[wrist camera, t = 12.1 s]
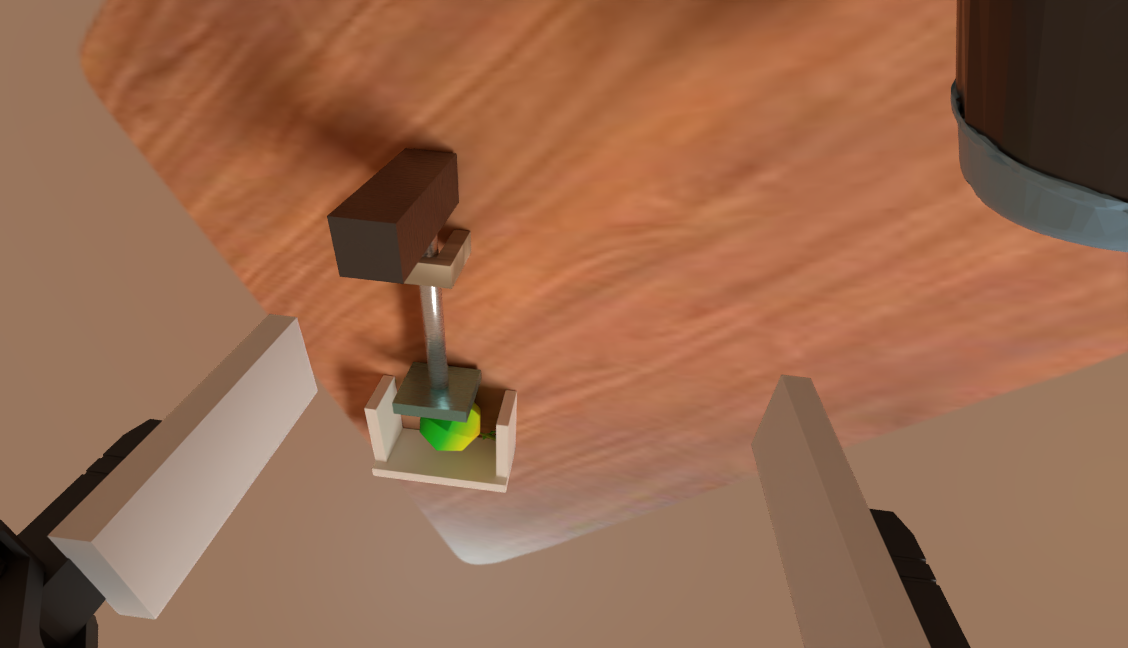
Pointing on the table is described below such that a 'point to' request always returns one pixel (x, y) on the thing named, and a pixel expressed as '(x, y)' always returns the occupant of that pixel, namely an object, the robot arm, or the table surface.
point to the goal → (420, 461)
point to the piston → (408, 266)
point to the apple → (453, 431)
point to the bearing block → (443, 263)
